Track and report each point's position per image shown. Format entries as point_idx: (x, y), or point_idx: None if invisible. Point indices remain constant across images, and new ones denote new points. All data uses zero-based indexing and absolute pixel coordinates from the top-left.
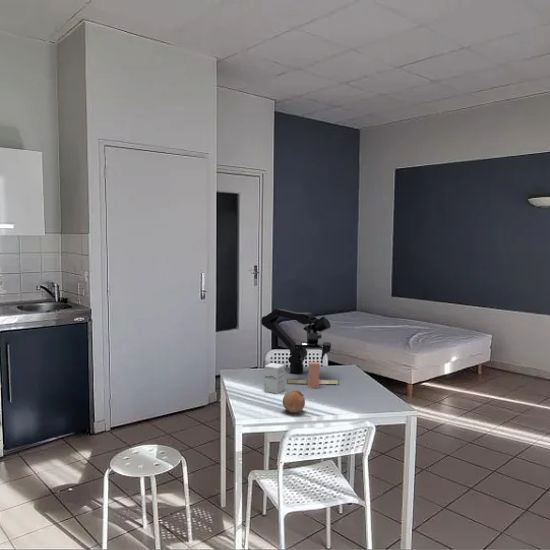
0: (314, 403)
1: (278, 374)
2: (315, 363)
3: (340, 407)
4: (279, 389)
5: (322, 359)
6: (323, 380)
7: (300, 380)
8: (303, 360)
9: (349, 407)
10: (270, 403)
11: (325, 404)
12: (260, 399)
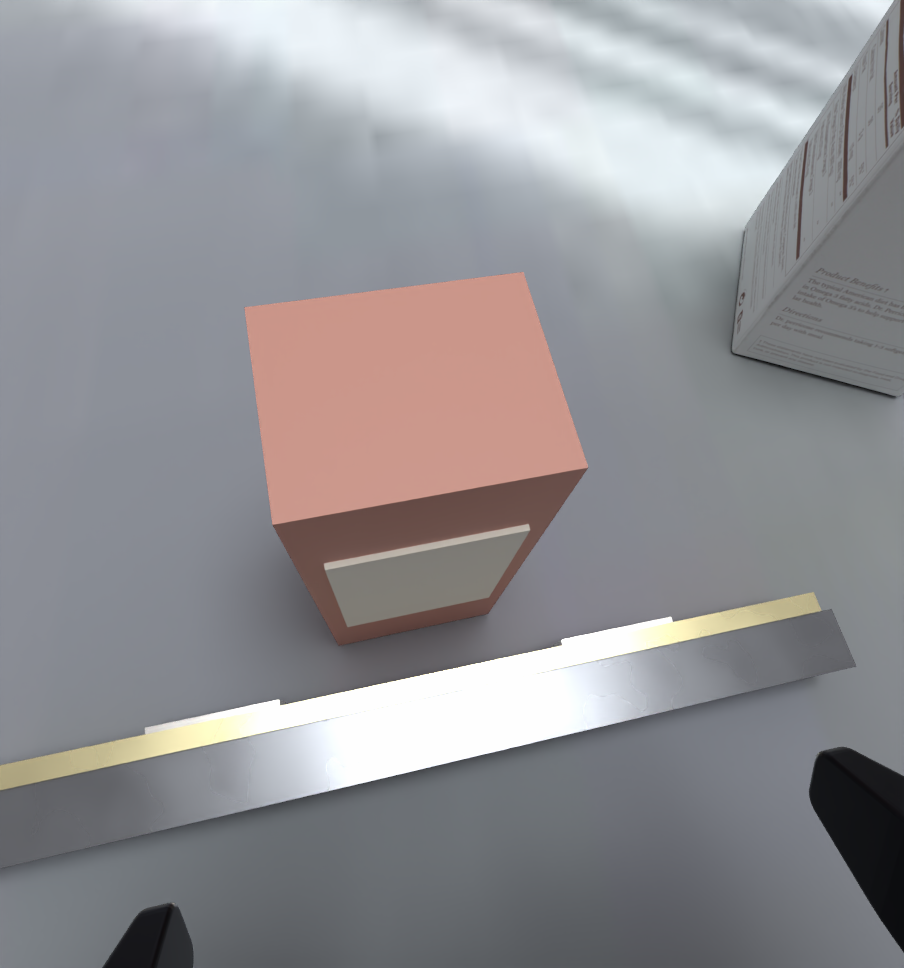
0: (340, 74)
1: (884, 28)
2: (370, 343)
3: (98, 26)
4: (756, 239)
5: (115, 965)
6: (240, 713)
7: (628, 632)
8: (824, 765)
9: (9, 34)
10: (700, 34)
11: (237, 66)
12: (814, 94)
